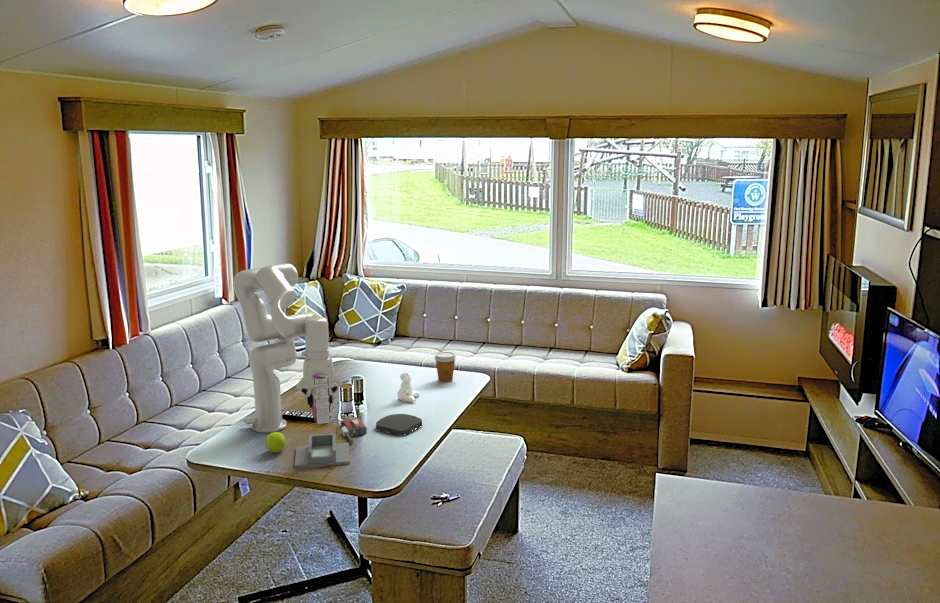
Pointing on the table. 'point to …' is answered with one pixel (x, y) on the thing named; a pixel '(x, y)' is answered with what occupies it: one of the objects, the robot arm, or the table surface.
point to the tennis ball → (275, 442)
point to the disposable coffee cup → (445, 366)
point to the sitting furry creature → (407, 389)
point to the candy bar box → (320, 399)
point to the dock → (322, 452)
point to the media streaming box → (398, 424)
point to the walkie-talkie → (353, 427)
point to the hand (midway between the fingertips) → (320, 405)
